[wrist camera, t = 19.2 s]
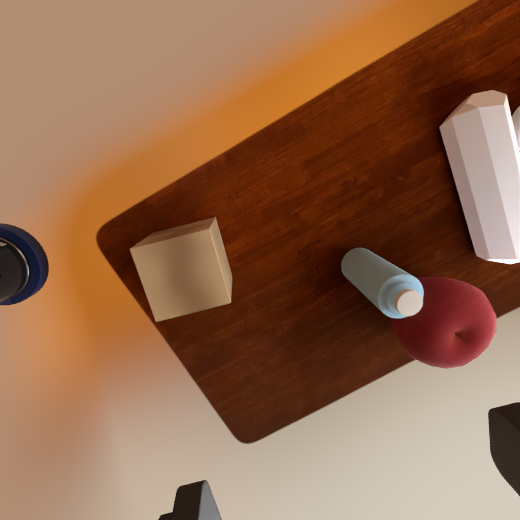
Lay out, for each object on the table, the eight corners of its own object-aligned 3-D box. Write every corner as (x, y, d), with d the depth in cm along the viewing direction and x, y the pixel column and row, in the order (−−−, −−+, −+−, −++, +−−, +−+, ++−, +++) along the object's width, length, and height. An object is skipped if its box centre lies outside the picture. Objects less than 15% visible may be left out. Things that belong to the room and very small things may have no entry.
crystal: (559, 246, 45) (522, 70, 39) (539, 273, 42) (496, 86, 36) (498, 247, 51) (458, 97, 45) (477, 270, 48) (431, 112, 42)
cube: (172, 291, 47) (155, 322, 38) (152, 232, 45) (129, 248, 35) (232, 276, 47) (230, 303, 38) (215, 216, 45) (209, 228, 35)
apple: (446, 255, 49) (521, 285, 36) (448, 324, 52) (518, 374, 39) (368, 271, 48) (415, 306, 36) (375, 340, 51) (421, 395, 39)
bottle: (344, 284, 49) (389, 332, 34) (338, 252, 47) (382, 287, 33) (377, 276, 49) (436, 319, 34) (372, 243, 47) (432, 274, 33)
